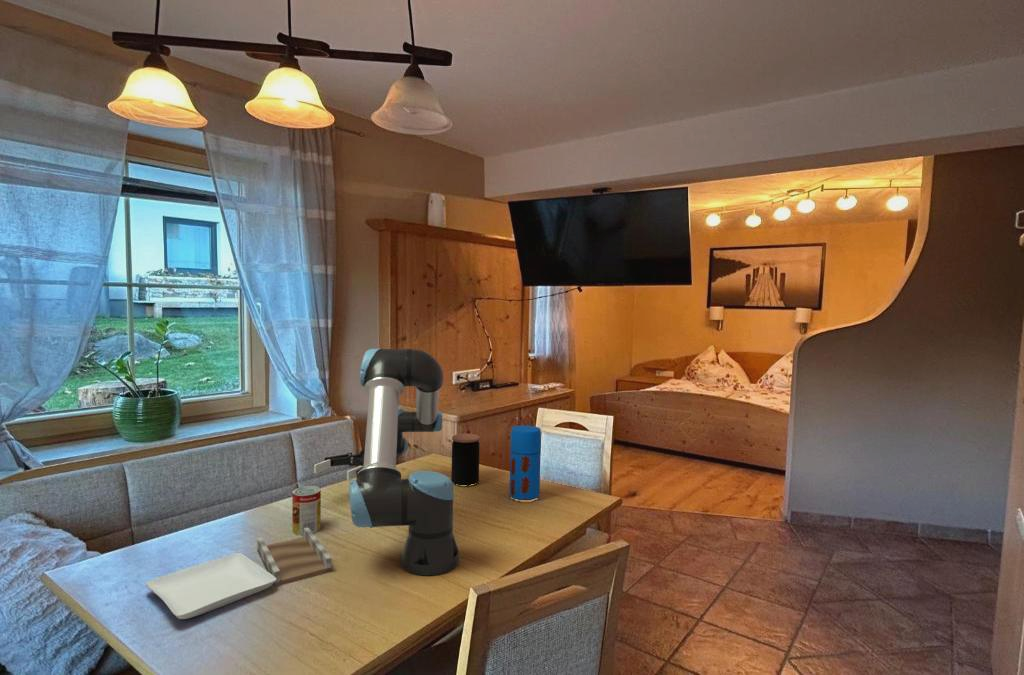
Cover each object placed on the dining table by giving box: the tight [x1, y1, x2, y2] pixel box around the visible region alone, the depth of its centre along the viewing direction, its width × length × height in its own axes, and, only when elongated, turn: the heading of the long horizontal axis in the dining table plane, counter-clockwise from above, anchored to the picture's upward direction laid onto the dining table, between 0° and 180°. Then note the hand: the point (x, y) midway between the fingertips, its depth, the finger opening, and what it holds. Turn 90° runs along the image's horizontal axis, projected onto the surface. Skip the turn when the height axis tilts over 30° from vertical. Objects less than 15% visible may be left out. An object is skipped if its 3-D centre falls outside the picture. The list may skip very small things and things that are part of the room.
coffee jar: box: [450, 433, 481, 485], centre depth 203 cm, size 11×11×18 cm
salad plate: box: [145, 552, 276, 620], centre depth 122 cm, size 21×21×3 cm
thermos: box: [509, 425, 542, 500], centre depth 188 cm, size 11×11×25 cm
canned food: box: [291, 485, 322, 536], centre depth 157 cm, size 8×8×12 cm
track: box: [256, 528, 332, 587], centre depth 138 cm, size 22×13×4 cm, turn 35°
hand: (330, 472), depth 166 cm, fingers open, 13 cm apart
